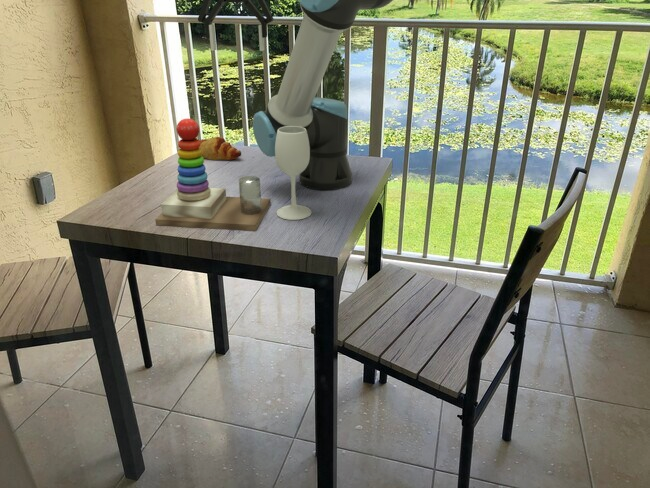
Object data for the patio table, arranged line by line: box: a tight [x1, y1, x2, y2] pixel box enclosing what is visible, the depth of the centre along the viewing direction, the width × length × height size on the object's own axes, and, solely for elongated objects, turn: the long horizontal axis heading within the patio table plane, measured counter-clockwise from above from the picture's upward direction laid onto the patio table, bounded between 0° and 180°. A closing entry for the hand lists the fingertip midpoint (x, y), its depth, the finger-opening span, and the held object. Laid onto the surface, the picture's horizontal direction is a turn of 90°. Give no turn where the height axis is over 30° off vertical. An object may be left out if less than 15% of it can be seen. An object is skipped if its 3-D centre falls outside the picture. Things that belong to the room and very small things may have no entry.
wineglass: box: [274, 126, 312, 221], centre depth 122 cm, size 9×9×21 cm
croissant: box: [199, 136, 242, 161], centre depth 167 cm, size 21×10×8 cm, turn 62°
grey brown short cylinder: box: [238, 175, 262, 215], centre depth 123 cm, size 5×5×8 cm
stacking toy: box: [176, 118, 211, 201], centre depth 120 cm, size 8×8×19 cm
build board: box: [155, 187, 272, 232], centre depth 125 cm, size 24×16×4 cm, turn 83°
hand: (237, 50), depth 141 cm, fingers open, 13 cm apart
